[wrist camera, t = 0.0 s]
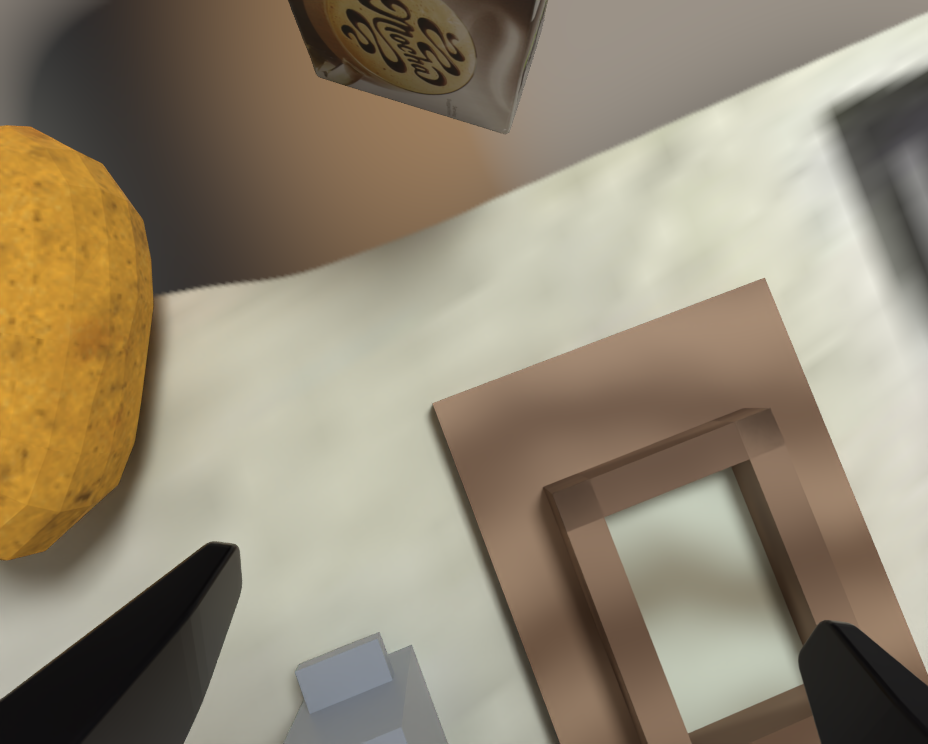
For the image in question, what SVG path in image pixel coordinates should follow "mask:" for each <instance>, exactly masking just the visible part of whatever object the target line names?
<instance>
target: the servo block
mask: <svg viewBox="0 0 928 744" xmlns="http://www.w3.org/2000/svg"><path fill="white" fill-rule="evenodd" d="M295 674H296V677H297V680H298V682H299V685H300V688H301V691H302V694H303V696H304V701H303V703H302V705H301V707H300V709H299V711H298V713H297V715H296V717H295V720H294V722H293V724H292V726H291V728H290V730H289V732H288V734H287V736H286V739H285V741H284V743H283V744H448V743H447V740H446V737H445V734H444V732H443V729H442V726H441V723H440V721H439V718H438V715H437V712H436V710H435V707H434V704H433V702H432V699H431V696H430V693H429V691H428V688H427V685H426V682H425V680H424V677H423V674H422V671H421V669H420V666H419V663H418V660H417V658H416V655H415V652H414V649H413V647H412V645H410V646H408V647H405V648H403V649H400V650H398V651H395V652H393V653H391V654H387V651H386V649H385V646H384V643H383V640H382V638H381V635H380V632H378V633H376V634H373V635H371V636H368V637H366V638H363V639H361V640H358V641H356V642H353V643H351V644H348V645H346V646H343V647H341V648H338V649H336V650H333V651H331V652H328V653H326V654H323V655H321V656H318V657H316V658H313V659H311V660H308V661H306V662H303V663H301V664H299V665H298V667H297V669H296V671H295Z"/></svg>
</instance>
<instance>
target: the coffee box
mask: <svg viewBox="0 0 928 744" xmlns="http://www.w3.org/2000/svg"><path fill="white" fill-rule="evenodd" d="M288 1H289V4H290V7H291V10H292V12H293V15H294V17H295V20H296V23H297V25H298V27H299V30H300V32H301V35H302V38H303V40H304V43H305V45H306V48H307V50H308V53H309V55H310V58H311V61H312V64H313V67H314V70H315V72H316V74H317V76H318V77H320V78H323V79H327V80H330V81H333V82H336V83H339V84H342V85H345V86H349V87H352V88H355V89H358V90H362V91H365V92H368V93H372V94H375V95H378V96H382V97H385V98H388V99H392V100H395V101H398V102H401V103H404V104H408V105H411V106H414V107H418V108H421V109H424V110H428V111H431V112H434V113H437V114H441V115H444V116H447V117H450V118H454V119H457V120H460V121H463V122H467V123H470V124H473V125H477V126H480V127H483V128H486V129H490V130H493V131H496V132H499V133H503V134H507V133H509V131H510V128H511V126H512V123H513V119H514V116H515V113H516V110H517V107H518V104H519V101H520V98H521V95H522V91H523V88H524V85H525V82H526V79H527V76H528V73H529V69H530V66H531V63H532V60H533V57H534V54H535V50H536V47H537V44H538V40H539V37H540V34H541V30H542V26H543V22H544V17H545V11H546V7H547V2H548V0H288Z"/></svg>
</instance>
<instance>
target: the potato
mask: <svg viewBox="0 0 928 744" xmlns="http://www.w3.org/2000/svg"><path fill="white" fill-rule="evenodd" d="M151 269H152V267H151V258H150V252H149V247H148V242H147V238H146V232H145V228H144V222H143V219H142V218H141V217H140V215H139V214H138V212H137V211H136V210H135V208H134V207H133V206H132V204H131V203H130V201H129V200H128V199H127V197H126V196H125V194H124V193H123V192H122V190H121V189H120V188H119V186H118V185H117V183H116V182H115V181H114V180H113V178H112V176H111V175H110V174H109V172H108V171H107V170H106V168H105V167H104V165H103V164H102V163H100V162H98V161H96V160H94V159H92V158H89V157H88V156H85V155H84V154H81V153H79V152H77V151H75V150H74V149H71V148H70V147H68V146H66V145H64V144H62V143H60V142H59V141H57V140H55V139H53V138H51V137H49V136H47V135H45V134H44V133H41V132H40V131H38V130H36V129H34V128H32V127H26V126H8V125H6V126H0V560H11V559H15V558H19V557H23V556H27V555H31V554H35V553H39V552H43V551H46V550H47V549H48V548H49V547H50V546H51V545H52V544H54V543H55V542H56V541H57V540H58V539H59V538H60V537H61V536H62V535H63V534H64V533H66V532H67V531H68V530H69V529H70V528H71V527H72V526H73V525H74V524H75V523H77V522H78V521H79V520H80V519H81V518H82V517H83V516H84V515H85V514H86V513H88V512H89V511H90V510H91V509H92V508H93V507H94V506H95V505H96V504H97V503H99V502H100V501H101V500H102V499H103V498H104V497H105V496H106V495H107V494H108V493H110V492H111V491H112V490H113V489H114V488H115V487H116V486H117V485H118V484H119V481H120V479H121V476H122V474H123V471H124V468H125V466H126V463H127V461H128V458H129V455H130V453H131V450H132V448H133V445H134V442H135V438H136V431H137V425H138V418H139V412H140V405H141V399H142V392H143V384H144V376H145V368H146V360H147V352H148V344H149V337H150V329H151V321H152V313H153V287H152V270H151Z"/></svg>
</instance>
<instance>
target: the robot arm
mask: <svg viewBox="0 0 928 744" xmlns="http://www.w3.org/2000/svg"><path fill="white" fill-rule="evenodd" d="M241 588H242V573H241V560H240V550H239V547H238V546H237V545H236V544H232V543H224V542H217V541H212V542H209V543H207V544H205V545H204V546H203V547H201V548H200V549H199V550H197V551H196V552H195V553H193V554H192V555H191V556H189V557H188V558H187V559H185V560H184V561H183V562H181V563H180V564H179V565H177V566H176V567H175V568H174V569H172V570H171V571H170V572H168V573H167V574H166V575H164V576H163V577H162V578H160V579H159V580H158V581H156V582H155V583H154V584H152V585H151V586H150V587H148V588H147V589H146V590H145V591H143V592H142V593H141V594H139V595H138V596H137V597H135V598H134V599H133V600H131V601H130V602H129V603H127V604H126V605H125V606H123V607H122V608H121V609H119V610H118V611H117V612H115V613H114V614H113V615H112V616H110V617H109V618H108V619H106V620H105V621H104V622H102V623H101V624H100V625H98V626H97V627H96V628H94V629H93V630H92V631H90V632H89V633H88V634H86V635H85V636H84V637H83V638H81V639H80V640H79V641H77V642H76V643H75V644H73V645H72V646H71V647H69V648H68V649H67V650H65V651H64V652H63V653H61V654H60V655H59V656H57V657H56V658H55V659H54V660H52V661H51V662H50V663H48V664H47V665H46V666H44V667H43V668H42V669H40V670H39V671H38V672H36V673H35V674H34V675H32V676H31V677H30V678H28V679H27V680H26V681H24V682H23V683H22V684H21V685H19V686H18V687H17V688H15V689H14V690H13V691H11V692H10V693H9V694H7V695H6V696H5V697H3V698H2V699H1V700H0V744H184V741H185V739H186V737H187V735H188V733H189V731H190V729H191V727H192V724H193V722H194V720H195V718H196V716H197V713H198V711H199V709H200V706H201V704H202V702H203V699H204V697H205V694H206V691H207V689H208V686H209V683H210V680H211V677H212V675H213V672H214V669H215V666H216V663H217V660H218V657H219V654H220V652H221V649H222V646H223V643H224V640H225V637H226V634H227V632H228V629H229V626H230V623H231V620H232V617H233V614H234V612H235V609H236V606H237V603H238V600H239V597H240V593H241ZM798 665H799V670H800V674H801V677H802V680H803V684H804V687H805V691H806V694H807V698H808V701H809V705H810V708H811V711H812V715H813V718H814V722H815V725H816V729H817V732H818V736H819V739H820V742H821V744H928V686H927V685H926V684H925V683H924V682H923V681H921V680H920V679H919V678H918V677H917V676H915V675H914V674H913V673H912V672H910V671H909V670H908V669H907V668H906V667H904V666H903V665H902V664H901V663H900V662H898V661H897V660H896V659H895V658H894V657H892V656H891V655H890V654H889V653H888V652H886V651H885V650H884V649H883V648H882V647H880V646H879V645H878V644H877V643H876V642H874V641H873V640H872V639H871V638H870V637H868V636H867V635H866V634H865V633H864V632H862V631H861V630H860V629H859V628H857V627H856V626H855V625H853V624H850V623H847V622H841V621H833V620H823V621H821V622H820V623H819V624H818V625H817V626H816V628H815V629H814V630H813V632H812V633H811V635H810V636H809V638H808V639H807V641H806V642H805V644H804V645H803V647H802V648H801V650H800V652H799V656H798Z"/></svg>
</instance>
